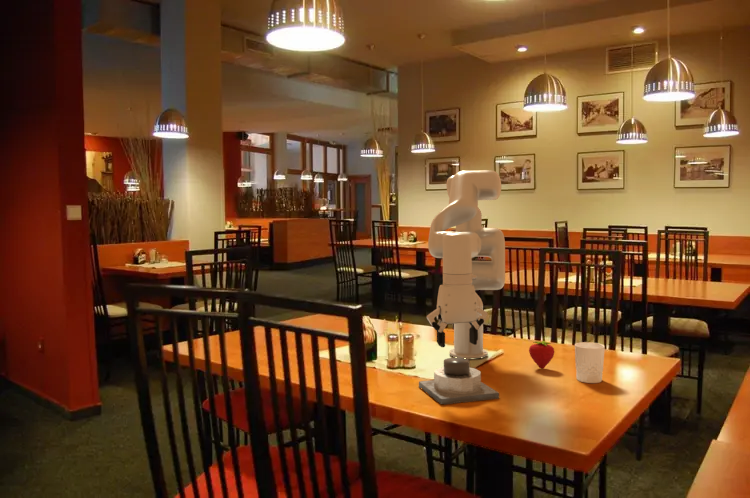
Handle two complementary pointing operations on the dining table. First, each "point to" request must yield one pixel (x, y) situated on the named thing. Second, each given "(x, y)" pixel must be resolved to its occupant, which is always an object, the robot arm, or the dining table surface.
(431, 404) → the dining table surface
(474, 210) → the robot arm
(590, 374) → the white cup
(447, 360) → the cap
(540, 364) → the strawberry
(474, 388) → the square base disc pedestal
